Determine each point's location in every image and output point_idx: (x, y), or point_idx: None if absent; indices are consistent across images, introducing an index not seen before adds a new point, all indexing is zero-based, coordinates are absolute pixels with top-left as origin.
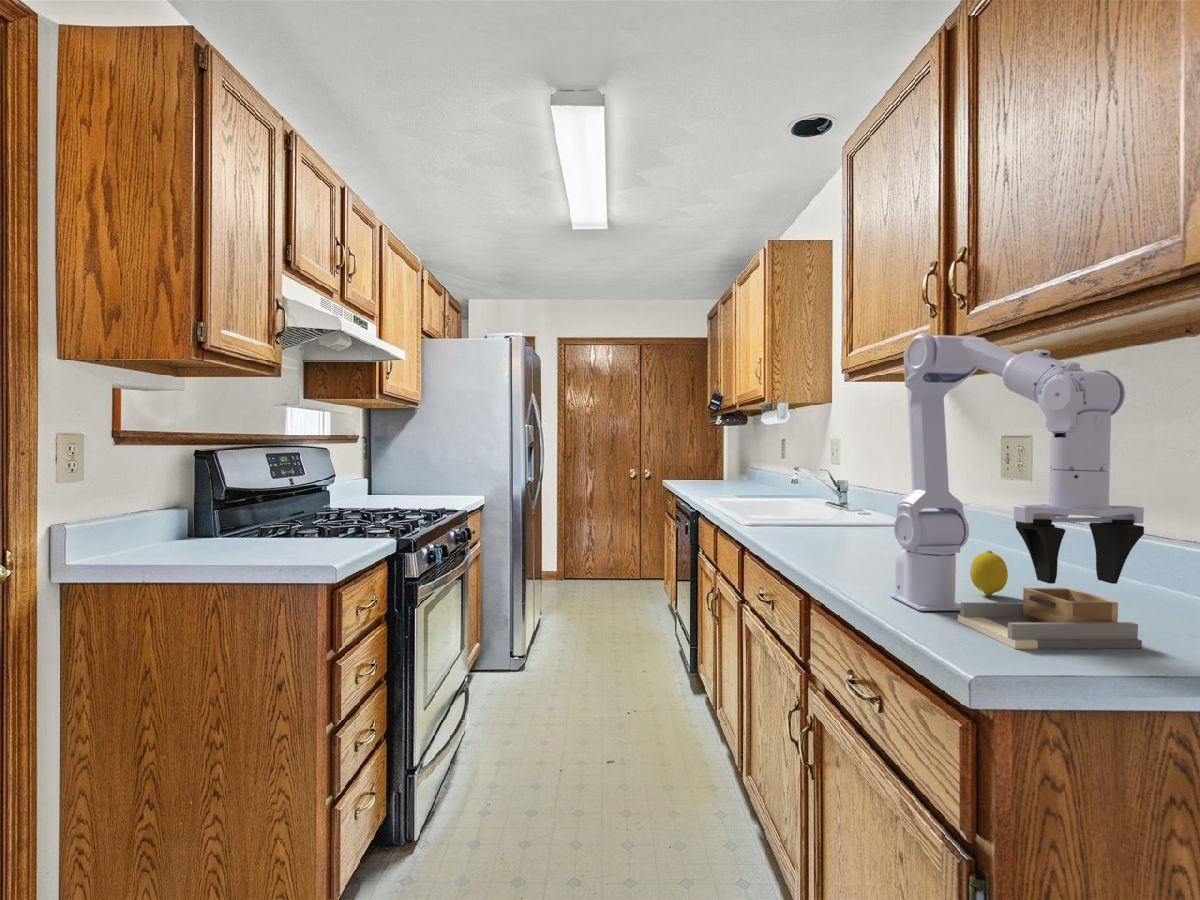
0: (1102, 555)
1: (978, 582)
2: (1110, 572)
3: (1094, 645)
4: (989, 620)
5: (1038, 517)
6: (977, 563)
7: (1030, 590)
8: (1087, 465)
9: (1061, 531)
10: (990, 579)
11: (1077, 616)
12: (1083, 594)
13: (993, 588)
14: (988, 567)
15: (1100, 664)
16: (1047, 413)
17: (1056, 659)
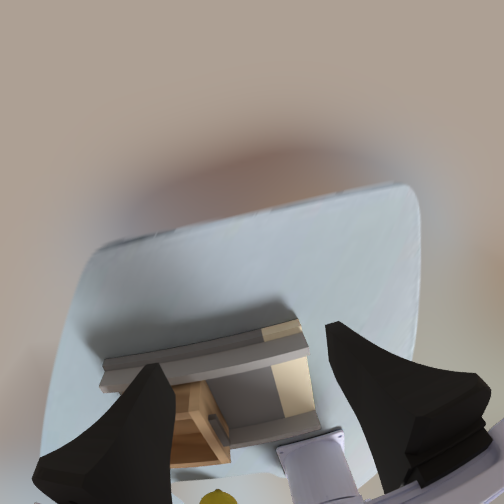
0: (160, 442)
1: (233, 499)
2: (155, 388)
3: (168, 351)
4: (284, 408)
5: (461, 473)
6: None
7: (226, 455)
8: None
9: (432, 405)
10: (222, 502)
11: (181, 394)
12: None
13: (217, 493)
14: None
15: (195, 276)
16: None
17: (256, 284)
